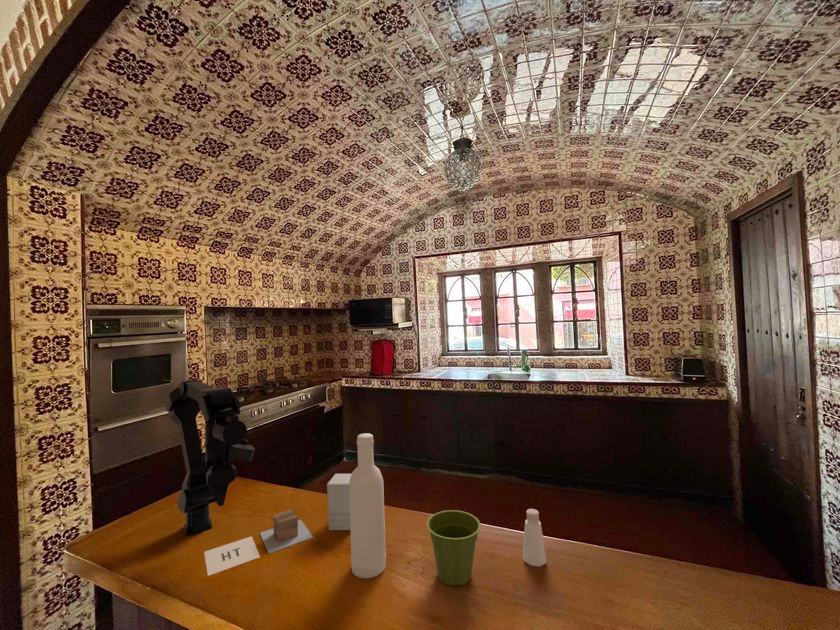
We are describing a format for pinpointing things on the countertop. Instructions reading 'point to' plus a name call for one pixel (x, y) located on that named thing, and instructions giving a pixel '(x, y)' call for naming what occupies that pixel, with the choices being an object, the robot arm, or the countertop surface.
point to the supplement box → (339, 502)
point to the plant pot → (454, 544)
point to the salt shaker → (533, 540)
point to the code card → (230, 555)
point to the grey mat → (274, 546)
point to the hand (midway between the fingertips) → (219, 498)
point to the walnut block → (285, 525)
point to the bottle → (367, 513)
